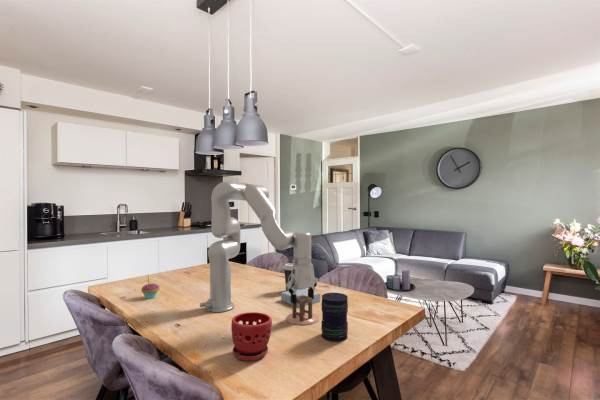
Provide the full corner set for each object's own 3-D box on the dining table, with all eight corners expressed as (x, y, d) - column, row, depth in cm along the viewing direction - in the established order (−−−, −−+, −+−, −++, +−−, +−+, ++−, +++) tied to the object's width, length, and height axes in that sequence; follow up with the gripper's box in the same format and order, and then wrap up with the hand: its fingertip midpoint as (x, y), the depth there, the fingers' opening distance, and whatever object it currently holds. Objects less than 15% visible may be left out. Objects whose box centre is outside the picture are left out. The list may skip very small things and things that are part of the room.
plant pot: (259, 367, 96) (259, 328, 96) (223, 359, 101) (223, 321, 101) (278, 348, 108) (278, 313, 108) (244, 342, 113) (245, 308, 113)
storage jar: (353, 336, 118) (353, 296, 118) (337, 344, 111) (338, 302, 111) (331, 328, 125) (331, 291, 125) (315, 336, 118) (316, 296, 118)
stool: (301, 321, 131) (301, 300, 131) (292, 317, 136) (292, 297, 136) (312, 318, 135) (312, 298, 135) (303, 314, 140) (303, 294, 140)
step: (298, 307, 150) (298, 299, 150) (281, 300, 161) (281, 292, 161) (320, 301, 159) (320, 293, 159) (302, 295, 170) (302, 287, 170)
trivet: (300, 328, 126) (300, 327, 126) (279, 317, 136) (279, 317, 136) (325, 319, 135) (325, 318, 135) (304, 310, 145) (304, 309, 145)
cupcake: (137, 298, 163) (137, 275, 163) (152, 294, 170) (152, 272, 170) (148, 301, 159) (148, 277, 159) (163, 296, 166) (163, 273, 166)
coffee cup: (301, 289, 181) (301, 263, 181) (299, 294, 171) (299, 266, 171) (284, 288, 182) (284, 262, 182) (282, 293, 172) (282, 266, 172)
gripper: (292, 264, 127) (292, 307, 127) (323, 259, 138) (323, 299, 138) (281, 262, 133) (280, 302, 133) (311, 257, 144) (311, 295, 144)
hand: (302, 300), depth 136 cm, fingers open, 9 cm apart
